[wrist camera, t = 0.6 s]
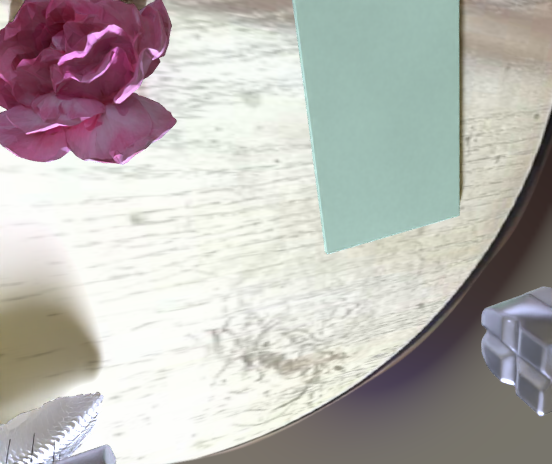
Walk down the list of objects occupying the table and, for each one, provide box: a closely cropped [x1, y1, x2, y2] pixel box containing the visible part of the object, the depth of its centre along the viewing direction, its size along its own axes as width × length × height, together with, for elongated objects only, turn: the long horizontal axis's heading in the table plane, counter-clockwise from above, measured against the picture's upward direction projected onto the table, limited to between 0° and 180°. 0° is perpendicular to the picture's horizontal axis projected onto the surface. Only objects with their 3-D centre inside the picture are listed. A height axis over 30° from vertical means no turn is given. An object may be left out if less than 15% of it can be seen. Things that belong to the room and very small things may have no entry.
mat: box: [292, 0, 460, 254], centre depth 38 cm, size 22×13×1 cm, turn 9°
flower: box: [0, 0, 177, 165], centre depth 28 cm, size 11×10×10 cm
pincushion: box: [0, 392, 103, 464], centre depth 37 cm, size 12×6×6 cm, turn 115°
